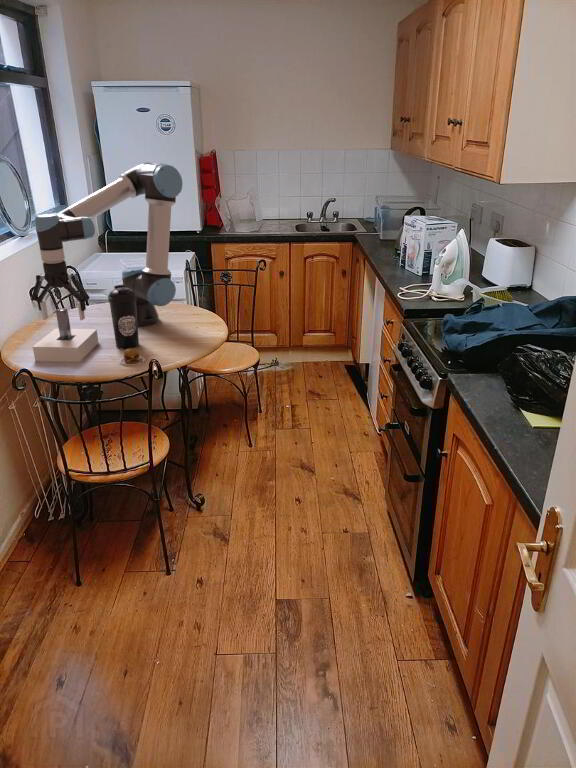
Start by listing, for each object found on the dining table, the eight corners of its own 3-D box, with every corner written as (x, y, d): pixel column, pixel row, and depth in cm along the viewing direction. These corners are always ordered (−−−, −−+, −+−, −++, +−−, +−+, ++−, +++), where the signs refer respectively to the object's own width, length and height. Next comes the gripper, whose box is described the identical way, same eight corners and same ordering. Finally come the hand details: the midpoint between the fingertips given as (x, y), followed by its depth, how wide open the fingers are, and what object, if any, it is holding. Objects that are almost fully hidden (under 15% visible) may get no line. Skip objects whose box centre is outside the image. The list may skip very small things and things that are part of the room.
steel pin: (74, 344, 209) (69, 308, 203) (70, 348, 206) (64, 311, 200) (64, 344, 209) (58, 308, 204) (59, 348, 206) (53, 311, 200)
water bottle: (117, 351, 209) (109, 291, 199) (111, 343, 217) (104, 285, 208) (144, 347, 213) (138, 288, 204) (137, 339, 221) (131, 282, 212)
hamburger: (149, 355, 207) (148, 341, 205) (149, 368, 197) (147, 353, 194) (116, 357, 205) (114, 343, 203) (114, 370, 194) (112, 355, 192)
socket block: (98, 342, 217) (96, 329, 215) (79, 362, 199) (77, 347, 197) (57, 341, 218) (55, 328, 215) (35, 361, 199) (32, 346, 197)
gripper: (93, 258, 197) (101, 316, 206) (23, 258, 198) (35, 315, 207) (85, 263, 191) (94, 322, 200) (13, 263, 191) (25, 321, 200)
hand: (64, 319), depth 203 cm, fingers open, 13 cm apart
